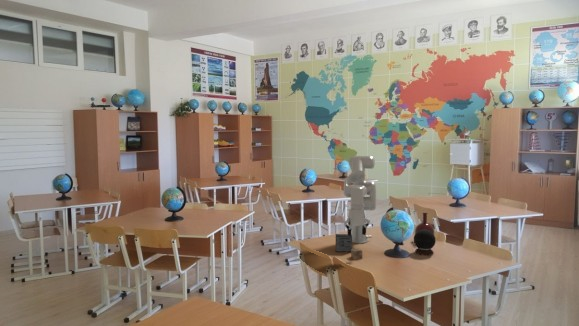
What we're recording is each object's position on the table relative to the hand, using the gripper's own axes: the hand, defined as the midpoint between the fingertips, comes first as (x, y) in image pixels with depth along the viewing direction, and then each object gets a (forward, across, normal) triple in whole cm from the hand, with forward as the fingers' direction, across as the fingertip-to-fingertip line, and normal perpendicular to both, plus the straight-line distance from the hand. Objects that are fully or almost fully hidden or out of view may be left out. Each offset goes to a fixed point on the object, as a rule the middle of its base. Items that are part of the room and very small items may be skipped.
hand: (356, 235), depth 252 cm
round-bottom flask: (+13, -62, -19) cm, 66 cm away
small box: (+14, +1, -17) cm, 22 cm away
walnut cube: (+14, 0, -1) cm, 14 cm away
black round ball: (+14, -45, +4) cm, 48 cm away
